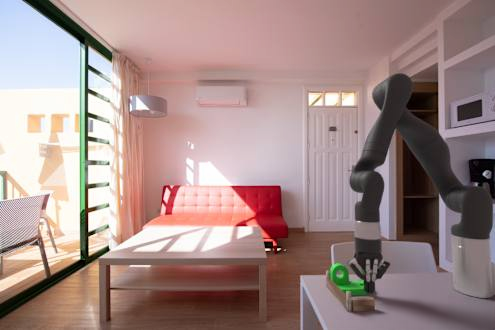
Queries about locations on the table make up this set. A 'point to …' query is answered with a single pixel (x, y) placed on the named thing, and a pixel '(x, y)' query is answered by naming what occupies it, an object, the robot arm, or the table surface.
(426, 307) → the table surface
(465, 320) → the table surface
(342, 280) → the mechanical part
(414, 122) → the robot arm
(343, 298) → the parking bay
